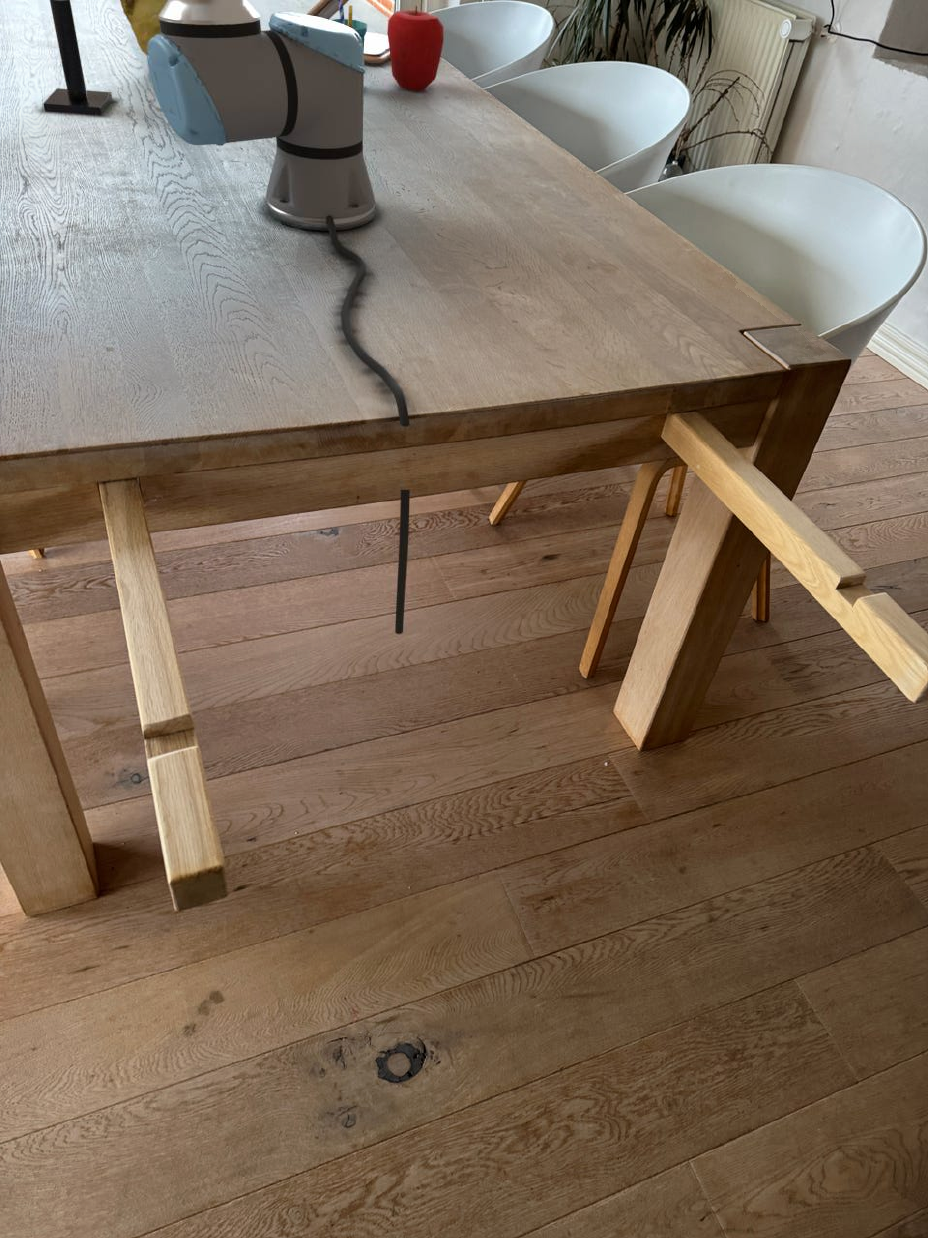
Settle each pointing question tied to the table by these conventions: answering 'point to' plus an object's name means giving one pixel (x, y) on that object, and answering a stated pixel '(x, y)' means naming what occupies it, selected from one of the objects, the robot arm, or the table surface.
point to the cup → (352, 22)
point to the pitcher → (143, 19)
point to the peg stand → (72, 70)
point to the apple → (414, 48)
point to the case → (374, 43)
